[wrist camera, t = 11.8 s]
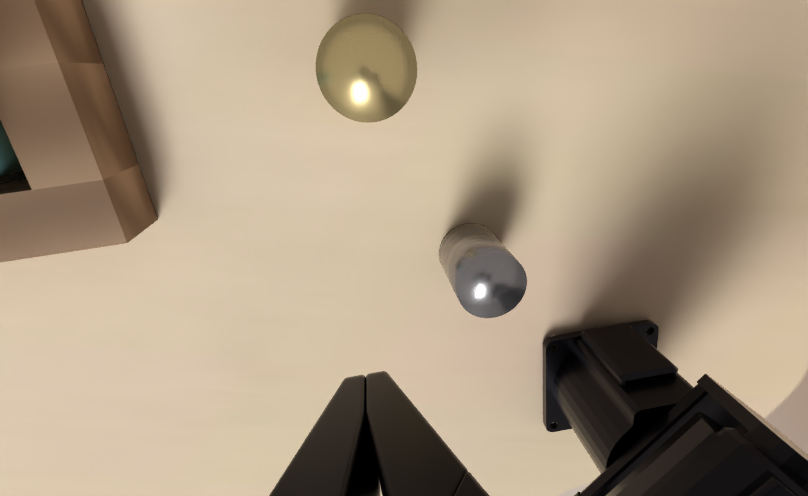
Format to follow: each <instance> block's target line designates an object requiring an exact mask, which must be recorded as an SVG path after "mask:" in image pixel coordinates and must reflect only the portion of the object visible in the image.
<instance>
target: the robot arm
mask: <svg viewBox="0 0 808 496" xmlns="http://www.w3.org/2000/svg"><path fill="white" fill-rule="evenodd" d="M648 328H649V329H648ZM647 329H648V330H647ZM646 330H647V331H646ZM657 339H658V326H657V325H656V324H655V323H654V322H653V321H651V320H643V321H637V322H632V323H623V324H617V325H612V326H606V327H600V328H595V329H589V330H585V331H580V332H575V333H569V334H563V335H558V336H552V337H549V338H547V339H546V340H545V341H544V343H543V423H544V425H545V427H546V429H547V430H548V431H550V432H556V431H561V430H567V429H572V428H573V430H574V432H575V433H576V435H577V436H578V438H579V439H580V441H581V443H582V444H583V446H584V447H585V449H586V450H587V452H588V454H589V455H590V457H591V458H592V460H593V461H594V463H595V465H596V466H597V468H598V469H599V471H600V473H601V474H600V475H599V476H598V477H597V478H596V479H595V480H594V481H593V482H592V483H591V484H590V485H589V486H587V487H586V488H585V489H584V490H583V491H582V492H581V493H580V492H578V493H577V494H576V495H574V496H808V454H807V453H805V452H804V451H803V450H802V449H800V448H799V447H798V446H797V445H795V444H794V443H793V442H792V441H791V440H789V439H788V438H787V437H786V436H785V435H783V434H782V433H781V432H780V431H778V430H777V429H776V428H775V427H774V426H772V425H771V424H770V423H769V422H767V421H766V420H765V419H764V418H763V417H761V416H760V415H759V414H757V413H756V412H755V411H754V410H752V409H751V408H750V407H748V406H747V405H746V404H744V403H743V402H742V401H741V400H739V399H738V398H737V397H735V396H734V395H733V394H731V393H730V392H729V391H728V390H726V389H725V388H724V387H722V386H721V385H720V384H718V383H717V382H716V381H715V380H713V379H712V378H711V377H709V376H708V375H707V374H705V375H704V376H702V377H701V378H700V379H699V380H698V381H697V383H698V384H697V385H696V386H695V387H693V386H691V385H690V384H689V383H688V382H687V381H686V380H685V379H684V378H683V377H682V376H680V375H679V374H678V373H677V372H678V368H677V367H676V366H675V365H674V364H673V363H672V362H670V361H669V360H668V359H667V358H666V357H665V356H664V355H663V354H661V353H660V352H659V351H658V350H657V349H656V348H657ZM554 344H556V345H555V346H554V347H553V348H551V346H552V345H554ZM553 422H554V423H553ZM380 486H381V491H382V495H383V496H489V495H488V493H487V492H486V491H485V490H484V489H483V488H482V487H481V485H480V484H479V483H478V482H477V481H476V479H475V478H474V477H473V476H472V475H471V473H469V472H468V471H467V469H466V468H465V466H464V465H463V464H462V463H461V462H460V460H459V459H458V458H457V457H456V456H455V454H454V453H453V452H452V451H451V449H450V448H449V447H448V446H447V445H446V443H445V442H444V441H443V440H442V439H441V437H440V436H439V435H438V434H437V433H436V431H435V430H434V429H433V428H432V426H431V425H430V424H429V423H428V422H427V420H426V419H425V418H424V417H423V416H422V414H421V413H420V412H419V411H418V410H417V408H416V407H415V406H414V405H413V403H412V402H411V401H410V400H409V399H408V397H407V396H406V395H405V394H404V393H403V391H402V390H401V389H400V388H399V387H398V385H397V384H396V383H395V382H394V380H393V379H392V378H391V377H390V376H389V374H388V373H387V372H385V371H382V372H376V373H371V374H368V375H367V376H366V377H365V376H364V375H359V376H353V377H348V378H345V379H344V380H343V382H342V384H341V385H340V387H339V388H338V390H337V391H336V393H335V394H334V396H333V398H332V399H331V401H330V402H329V404H328V405H327V407H326V408H325V410H324V411H323V413H322V415H321V416H320V418H319V419H318V421H317V422H316V424H315V425H314V427H313V429H312V430H311V432H310V433H309V435H308V436H307V438H306V439H305V441H304V443H303V444H302V446H301V447H300V449H299V450H298V452H297V453H296V455H295V457H294V458H293V460H292V461H291V463H290V464H289V466H288V467H287V469H286V470H285V472H284V474H283V475H282V477H281V478H280V480H279V481H278V483H277V484H276V486H275V488H274V489H273V491H272V492H271V494H270V495H269V496H380Z"/></svg>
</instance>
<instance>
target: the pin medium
mask: <svg viewBox="0 0 808 496" xmlns="http://www.w3.org/2000/svg"><path fill="white" fill-rule="evenodd" d="M316 75H317V80H318V84H319V87H320V89H321V92H322V93H323V95H324V97H325V99H326V100H327V101H328V103H329V104H330V105H331V106H332V107H333V108H334V109H335V110H336V111H337V112H339V113H340V114H342V115H343V116H345V117H347V118H349V119H352V120H355V121H359V122H377V121H381V120H384V119H387V118H389V117H391V116H393V115H394V114H395V113H397V112H398V111H399V110H400V109H401V108H402V107H403V106H404V105H405V104H406V103H407V101H408V100H409V98H410V96H411V94H412V92H413V90H414V87H415V83H416V78H417V62H416V56H415V53H414V49H413V47H412V45H411V43H410V41H409V39H408V38H407V36H406V35H405V34H404V32H403V31H402V30H401V29H400V28H399V27H398V26H397V25H395V24H394V23H393V22H391V21H390V20H388V19H386V18H384V17H381V16H378V15H374V14H356V15H352V16H349V17H346V18H344V19H342V20H340V21H339V22H338V23H336V24H335V25H334V26H333V27H332V28H331V29H330V30H329V31H328V32H327V33H326V35H325V36H324V38H323V40H322V41H321V44H320V46H319V49H318V53H317V58H316Z"/></svg>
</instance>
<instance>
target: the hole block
mask: <svg viewBox="0 0 808 496" xmlns="http://www.w3.org/2000/svg"><path fill="white" fill-rule="evenodd" d="M0 120H1V122H2V125H3V127H4V129H5V131H6V133H7V136H8V138H9V140H10V142H11V145H12V147H13V149H14V151H15V153H16V156H17V158H18V160H19V162H20V165H21V167H22V169H23V171H24V174H25V176H26V178H27V180H24V181H17V182H10V183H3V184H0V262H5V261H12V260H19V259H25V258H32V257H38V256H45V255H51V254H58V253H65V252H71V251H78V250H84V249H91V248H97V247H104V246H111V245H117V244H124V243H128V242H129V241H130V240H132V239H133V238H134V237H136V236H137V235H138V234H140V233H141V232H142V231H143V230H145V229H146V228H147V227H149V226H150V225H151V224H153V223H154V222H155V221H156V220H158V219H157V216H156V213H155V210H154V207H153V204H152V202H151V199H150V196H149V193H148V190H147V187H146V184H145V181H144V179H143V176H142V173H141V170H140V167H139V164H138V161H137V159H136V156H135V153H134V150H133V147H132V144H131V141H130V138H129V136H128V133H127V130H126V127H125V124H124V121H123V118H122V115H121V113H120V110H119V107H118V104H117V101H116V98H115V95H114V93H113V90H112V87H111V84H110V81H109V78H108V75H107V72H106V70H105V67H104V64H103V61H102V58H101V55H100V52H99V50H98V47H97V44H96V41H95V38H94V35H93V32H92V29H91V27H90V24H89V21H88V18H87V15H86V12H85V9H84V7H83V4H82V1H81V0H0Z"/></svg>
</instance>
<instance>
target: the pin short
mask: <svg viewBox="0 0 808 496" xmlns="http://www.w3.org/2000/svg"><path fill="white" fill-rule="evenodd" d="M439 259H440V262H441V265H442V267H443V269H444V271H445V273H446V275H447V277H448V279H449V281H450V283H451V285H452V287H453V289H454V291H455V293H456V295H457V297H458V299H459V301H460V303H461V305H462V306H463V308H464V309H465V310H466V311H468V312H469V313H471V314H472V315H475V316H477V317H482V318H493V317H498V316H501V315H503V314H506V313H507V312H509V311H511V310H512V309H513V308H514V307H515V306H516V305H517V304H518V303H519V302H520V301H521V299H522V297H523V295H524V293H525V290H526V285H527V278H526V273H525V271H524V269H523V267H522V265H521V264H520V263H519V262H518V261H517V260H516V259H515V257H514V256H513V255H512V254H511V253H510V252H509V251H508V250H507V249H506V248H505V247H504V245H503V244H502V243H501V242H500V241H499V240H498V239H497V238H496V237H495V236H494V234H493V233H492V232H491V231H490V230H489V229H487V228H486V227H484V226H482V225H479V224H475V223H468V224H462V225H460V226H457V227H455V228H454V229H452V230H451V231H450V232H448V234H447V235H446V236H445V237H444V239H443V240H442V242H441V245H440V249H439Z"/></svg>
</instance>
